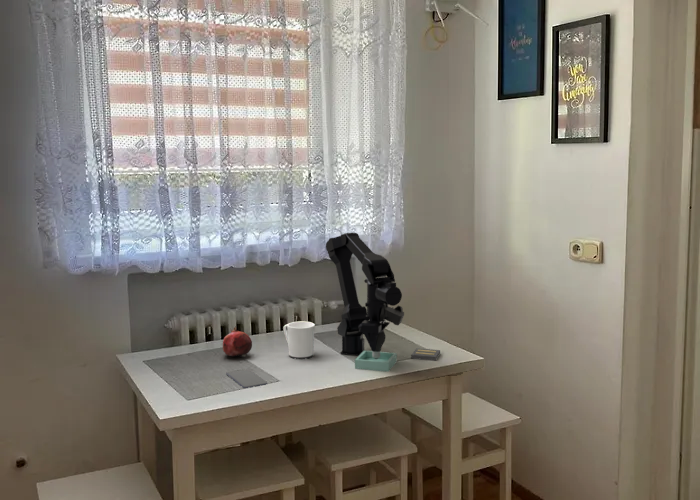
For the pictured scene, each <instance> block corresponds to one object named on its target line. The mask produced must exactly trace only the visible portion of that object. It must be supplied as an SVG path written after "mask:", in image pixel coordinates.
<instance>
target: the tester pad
mask: <svg viewBox="0 0 700 500" xmlns="http://www.w3.org/2000/svg"><path fill="white" fill-rule="evenodd" d="M440 355H441V349H430V348H420V347H417V348H415V349H414V351H413V352H412V354H410V359H412V360H413V359H414V360H426V361H437V359H438V358H439V356H440Z"/></svg>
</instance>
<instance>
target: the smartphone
mask: <svg viewBox="0 0 700 500" xmlns="http://www.w3.org/2000/svg"><path fill="white" fill-rule="evenodd" d="M225 374H227V375H228V376H227V375H226V376H227V377H228V378H230V379H231V380H232V379H233V380H232V381H234V382H235V383H236V382H237V383H238V385H239V386H240V387H241V386H242V387H241V388H243V389H249V388H248V387H250V388H254V387H253V386H255V387H261V386H264V385H265V386H266V384H267V385H268V381H266V380H265V379H263V378H262V377H261V376H260V375H258V374H256V373H255V372H254V371H253V370H251V369H250V368H244V369H239V370H238V369H237V370H232V371H226V373H225ZM237 383H236V384H237ZM260 385H261V386H260Z"/></svg>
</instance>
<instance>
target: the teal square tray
mask: <svg viewBox="0 0 700 500" xmlns="http://www.w3.org/2000/svg"><path fill="white" fill-rule="evenodd" d="M397 354H398V352H389V351H387V352H386V351H380V357H379V358H378V359H375V358H373V357H372V356H373V355H372V350H365V349H364V351H363V352H362V353H361V354H360V355H357V357H356V358H354V369H357V370H365V371H366V370H368V371H378V372H387V373H389V372H390V370H391V369H392V368H393V367H394V366H395V365H396V363H397V362H398V361H397V359H398V358H397Z"/></svg>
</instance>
